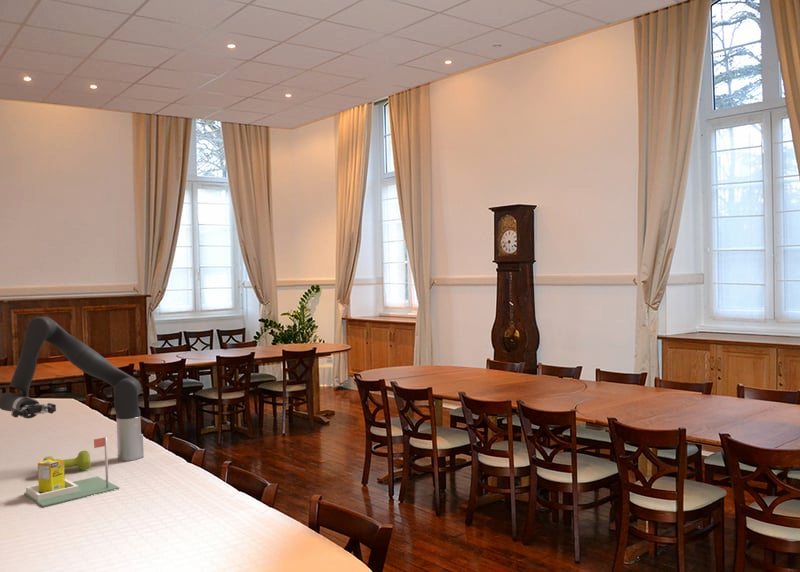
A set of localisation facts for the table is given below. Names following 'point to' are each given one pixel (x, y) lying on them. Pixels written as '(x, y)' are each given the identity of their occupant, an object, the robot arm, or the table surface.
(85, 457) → the dumbbell
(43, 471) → the supplement box
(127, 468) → the table surface
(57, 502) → the cup
